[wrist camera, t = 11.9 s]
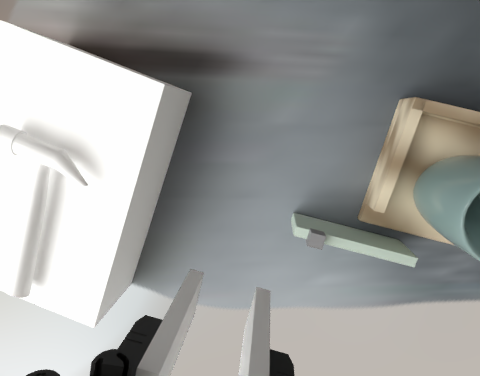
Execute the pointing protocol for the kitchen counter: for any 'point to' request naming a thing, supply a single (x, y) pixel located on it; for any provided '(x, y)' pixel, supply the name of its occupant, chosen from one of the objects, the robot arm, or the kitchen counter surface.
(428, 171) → the cup
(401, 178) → the tray
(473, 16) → the kitchen counter surface
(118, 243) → the tissue box
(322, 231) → the gate
